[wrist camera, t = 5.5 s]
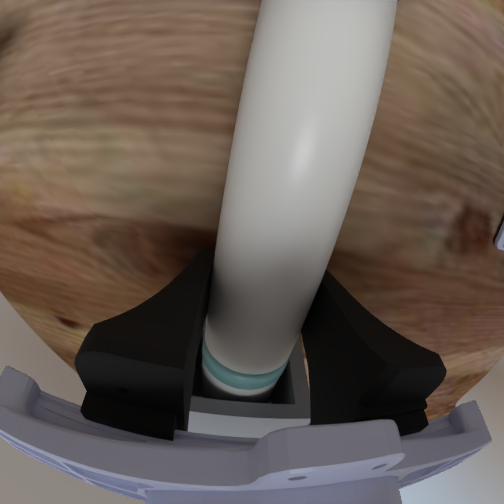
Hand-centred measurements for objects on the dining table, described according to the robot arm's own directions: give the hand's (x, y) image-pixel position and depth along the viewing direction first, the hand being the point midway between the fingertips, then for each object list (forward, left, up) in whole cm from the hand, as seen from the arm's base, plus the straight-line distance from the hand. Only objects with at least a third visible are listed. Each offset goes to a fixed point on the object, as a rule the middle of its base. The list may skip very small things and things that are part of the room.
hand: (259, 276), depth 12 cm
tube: (0, -5, -1) cm, 5 cm away
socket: (0, +7, -2) cm, 7 cm away
